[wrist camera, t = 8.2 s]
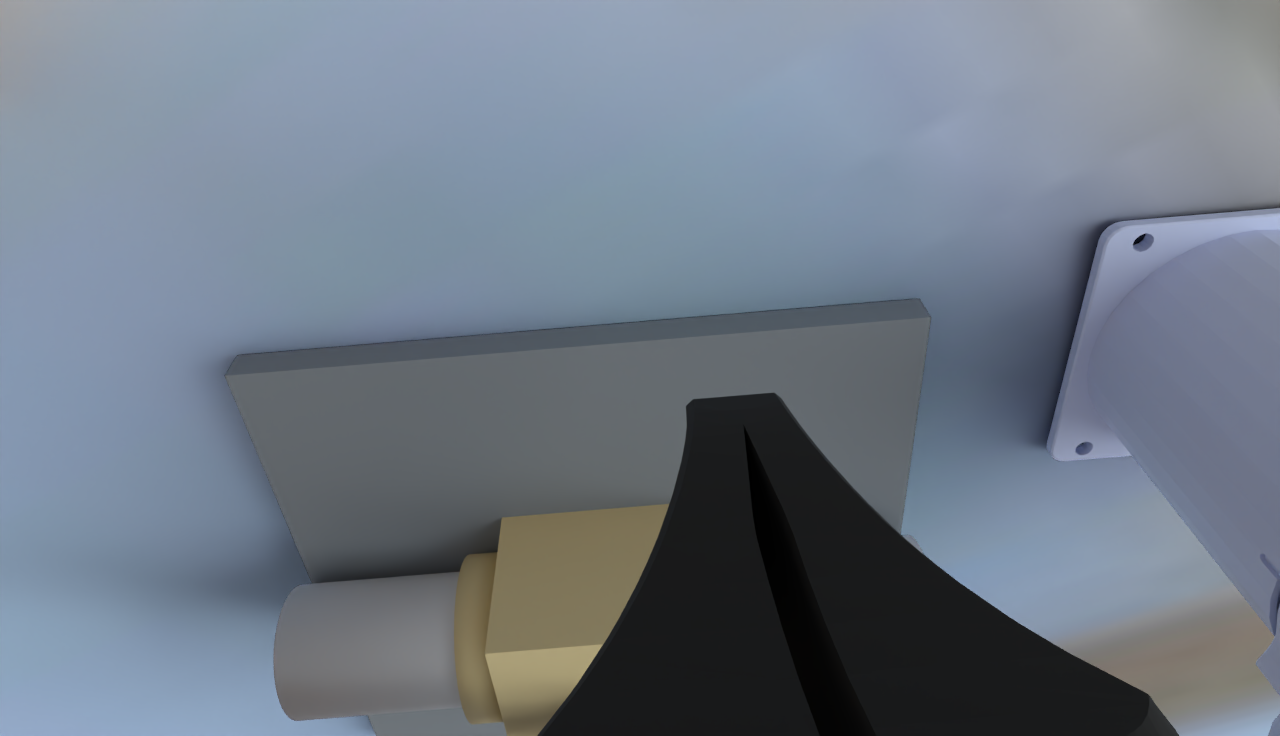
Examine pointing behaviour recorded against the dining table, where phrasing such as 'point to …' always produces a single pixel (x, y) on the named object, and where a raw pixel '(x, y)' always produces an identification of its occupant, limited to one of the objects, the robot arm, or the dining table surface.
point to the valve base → (527, 491)
